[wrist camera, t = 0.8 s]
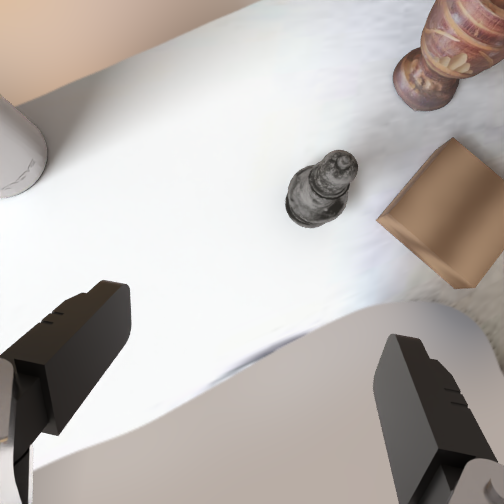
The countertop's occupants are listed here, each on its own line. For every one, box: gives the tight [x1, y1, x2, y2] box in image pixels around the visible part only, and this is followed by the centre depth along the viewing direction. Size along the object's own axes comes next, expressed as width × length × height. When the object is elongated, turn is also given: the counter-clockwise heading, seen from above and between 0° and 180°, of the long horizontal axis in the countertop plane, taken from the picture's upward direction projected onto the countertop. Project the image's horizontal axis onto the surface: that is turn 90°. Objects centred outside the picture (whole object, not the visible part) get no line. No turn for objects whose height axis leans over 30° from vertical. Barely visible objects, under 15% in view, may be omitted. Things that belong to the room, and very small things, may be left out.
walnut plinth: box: [376, 138, 504, 289], centre depth 35 cm, size 11×11×3 cm
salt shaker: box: [285, 150, 358, 228], centre depth 30 cm, size 6×6×12 cm
